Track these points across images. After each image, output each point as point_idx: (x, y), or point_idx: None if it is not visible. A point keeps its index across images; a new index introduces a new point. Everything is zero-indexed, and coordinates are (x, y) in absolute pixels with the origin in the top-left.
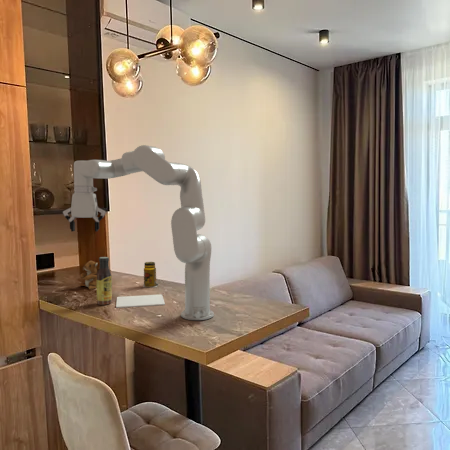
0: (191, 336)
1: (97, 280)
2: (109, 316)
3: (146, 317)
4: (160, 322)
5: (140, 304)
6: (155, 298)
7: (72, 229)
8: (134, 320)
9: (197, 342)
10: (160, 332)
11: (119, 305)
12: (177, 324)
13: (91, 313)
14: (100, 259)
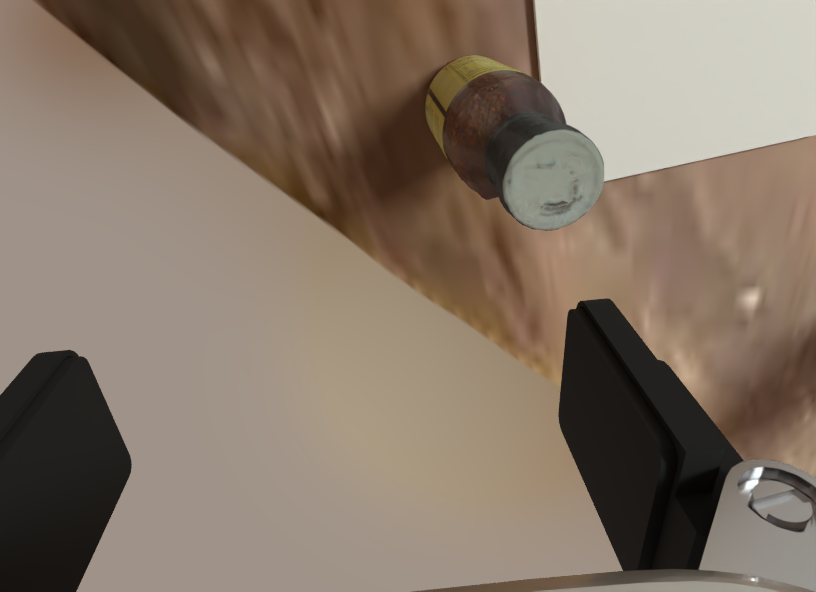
0: None
1: (457, 173)
2: (533, 317)
3: (691, 326)
4: (737, 377)
5: (682, 149)
6: (791, 3)
7: (108, 494)
8: None
9: None
10: None
11: None
12: (794, 394)
13: (441, 278)
14: (520, 221)
